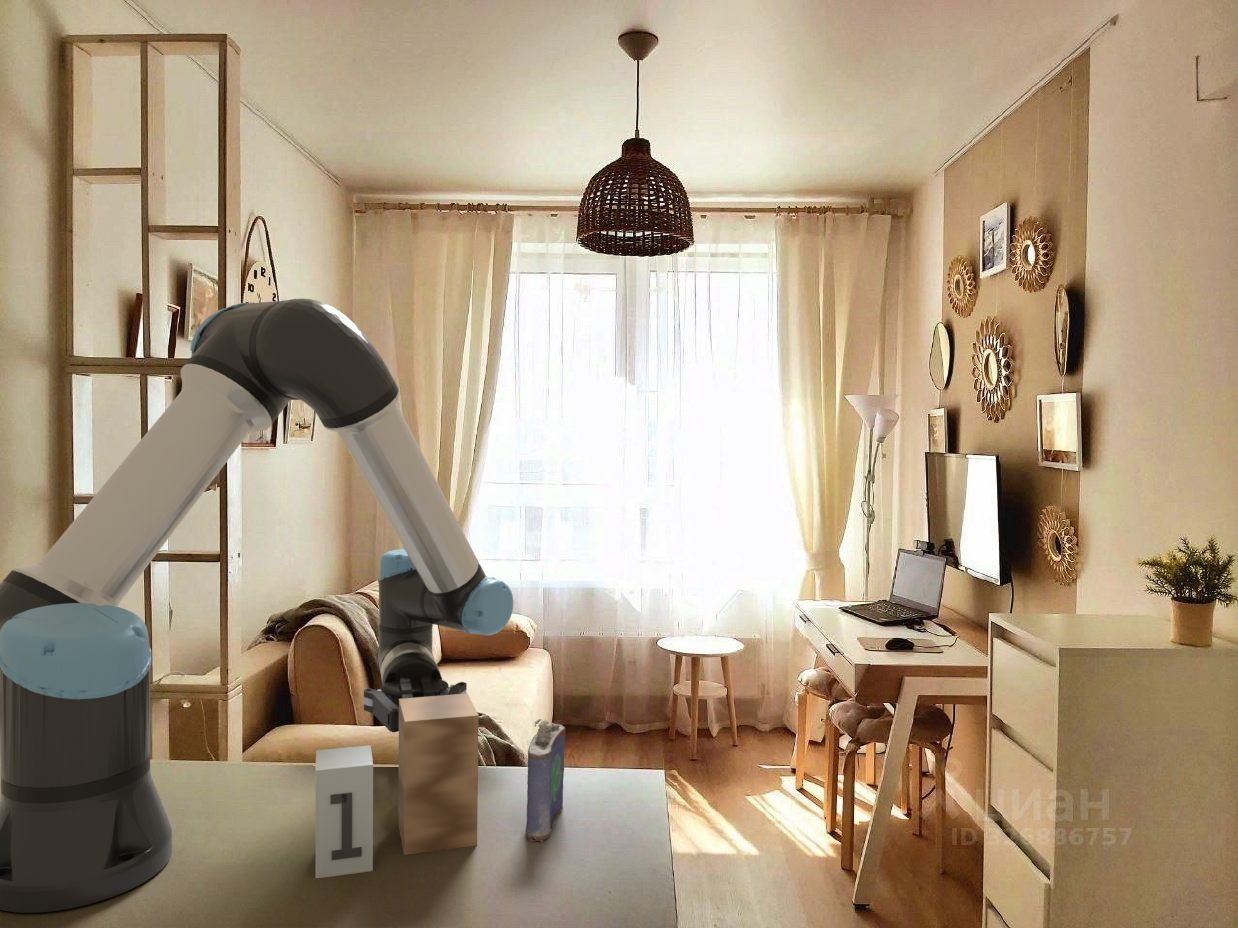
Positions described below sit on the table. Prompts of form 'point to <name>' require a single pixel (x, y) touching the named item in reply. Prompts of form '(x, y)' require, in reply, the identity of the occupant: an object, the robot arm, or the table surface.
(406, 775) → the plain block
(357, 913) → the table surface
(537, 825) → the flask
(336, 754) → the number block
